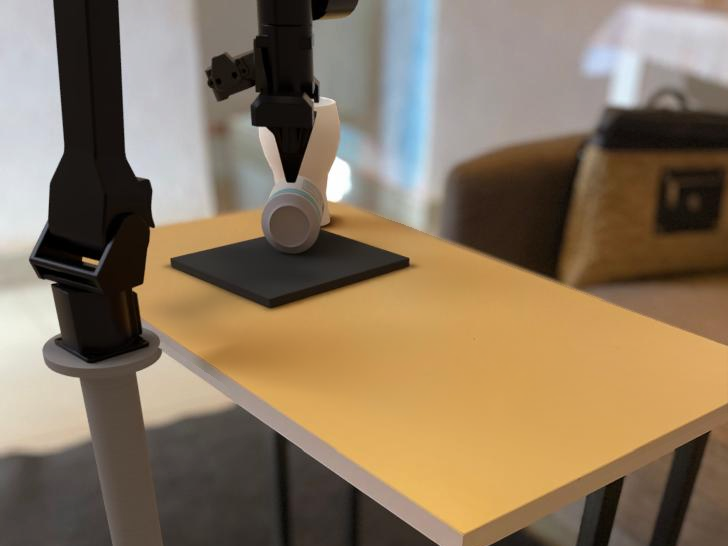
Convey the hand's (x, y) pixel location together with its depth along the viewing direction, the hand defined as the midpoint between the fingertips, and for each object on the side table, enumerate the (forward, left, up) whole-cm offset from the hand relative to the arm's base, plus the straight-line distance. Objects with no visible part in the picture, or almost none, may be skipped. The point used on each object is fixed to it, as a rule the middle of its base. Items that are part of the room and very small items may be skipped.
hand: (291, 182), depth 96 cm
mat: (-1, -1, -9) cm, 9 cm away
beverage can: (-1, -1, -5) cm, 5 cm away
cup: (+13, +13, -9) cm, 20 cm away
